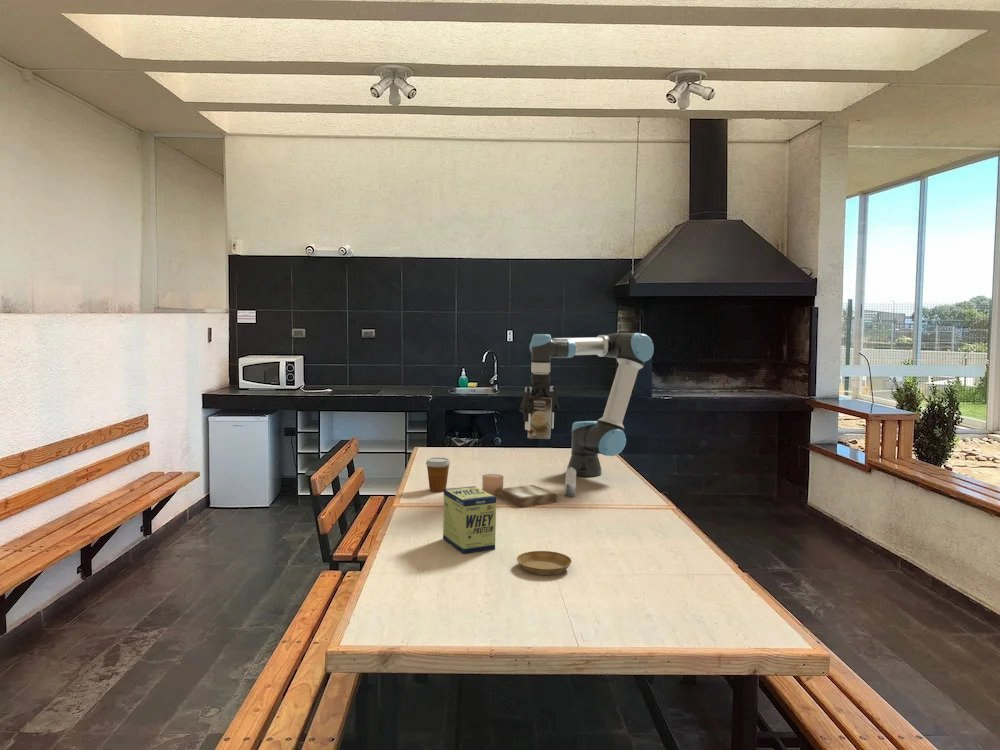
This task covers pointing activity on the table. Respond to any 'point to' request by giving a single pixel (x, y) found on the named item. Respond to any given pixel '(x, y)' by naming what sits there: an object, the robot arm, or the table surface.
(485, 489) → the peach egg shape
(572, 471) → the salt shaker
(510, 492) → the picture frame
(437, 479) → the disposable coffee cup
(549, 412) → the coffee box
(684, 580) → the table surface
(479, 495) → the protein box
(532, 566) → the plant saucer
